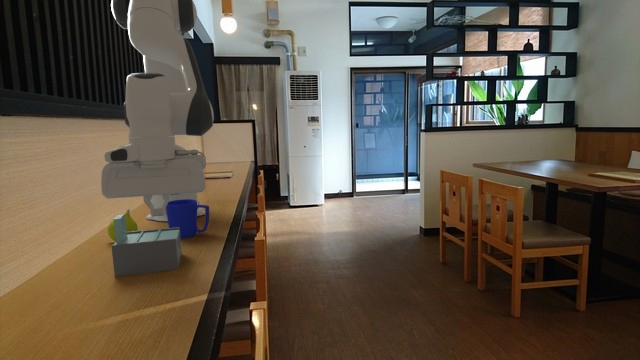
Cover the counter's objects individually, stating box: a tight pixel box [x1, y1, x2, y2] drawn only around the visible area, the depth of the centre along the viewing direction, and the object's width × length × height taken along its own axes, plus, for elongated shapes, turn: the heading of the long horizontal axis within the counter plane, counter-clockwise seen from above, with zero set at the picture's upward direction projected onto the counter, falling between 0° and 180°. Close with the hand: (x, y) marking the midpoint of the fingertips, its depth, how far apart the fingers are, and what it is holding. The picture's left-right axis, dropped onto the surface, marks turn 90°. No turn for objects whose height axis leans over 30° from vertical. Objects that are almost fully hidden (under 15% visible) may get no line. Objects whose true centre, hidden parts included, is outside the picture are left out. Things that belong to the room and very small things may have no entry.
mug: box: [166, 199, 210, 239], centre depth 103 cm, size 8×12×10 cm
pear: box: [107, 207, 139, 243], centre depth 101 cm, size 7×7×10 cm
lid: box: [113, 213, 180, 244], centre depth 81 cm, size 8×12×6 cm
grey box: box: [111, 227, 183, 278], centre depth 82 cm, size 10×12×7 cm
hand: (158, 215), depth 81 cm, fingers closed
